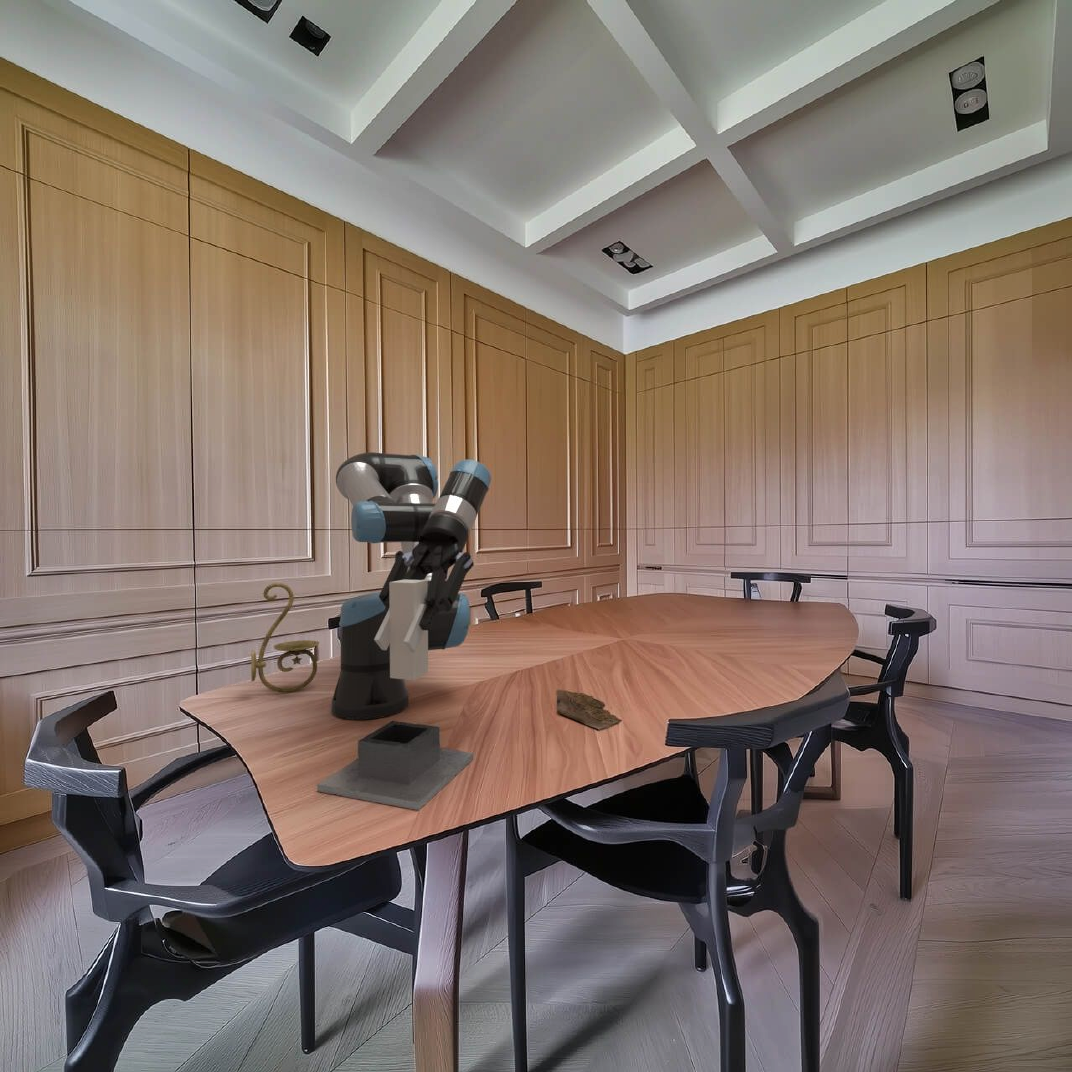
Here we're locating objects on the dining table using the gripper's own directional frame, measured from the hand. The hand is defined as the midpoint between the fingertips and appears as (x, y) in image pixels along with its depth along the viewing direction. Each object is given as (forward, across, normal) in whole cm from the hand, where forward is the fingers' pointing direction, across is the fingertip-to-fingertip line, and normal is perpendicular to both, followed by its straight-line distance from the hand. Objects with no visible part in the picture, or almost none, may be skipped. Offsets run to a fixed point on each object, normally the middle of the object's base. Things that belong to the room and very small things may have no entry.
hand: (394, 645), depth 73 cm
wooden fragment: (-13, -18, -42) cm, 48 cm away
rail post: (+1, 0, -6) cm, 6 cm away
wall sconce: (-7, +48, -37) cm, 61 cm away
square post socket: (+12, +1, -16) cm, 20 cm away
